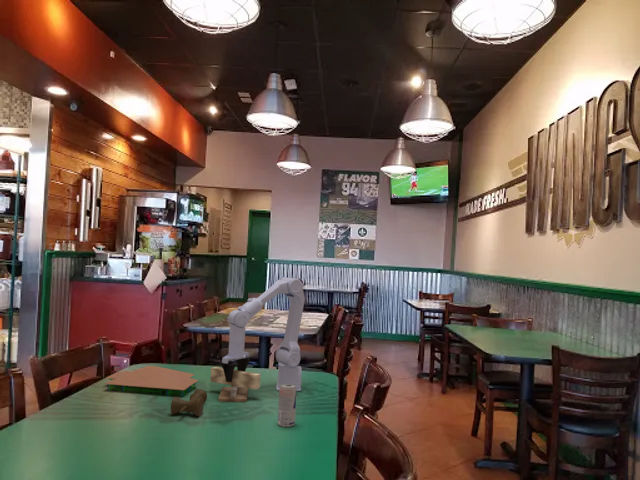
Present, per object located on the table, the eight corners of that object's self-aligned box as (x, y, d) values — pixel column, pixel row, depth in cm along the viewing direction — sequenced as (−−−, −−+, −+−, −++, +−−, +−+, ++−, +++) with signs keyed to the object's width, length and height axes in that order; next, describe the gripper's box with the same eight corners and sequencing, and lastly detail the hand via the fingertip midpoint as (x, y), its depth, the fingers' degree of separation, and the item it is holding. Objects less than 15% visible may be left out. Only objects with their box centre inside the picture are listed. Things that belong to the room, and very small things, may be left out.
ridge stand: (248, 389, 190) (248, 379, 190) (246, 402, 174) (247, 390, 174) (222, 389, 189) (222, 378, 189) (218, 401, 173) (218, 390, 173)
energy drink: (295, 422, 155) (297, 384, 156) (293, 428, 150) (295, 388, 150) (279, 420, 156) (281, 382, 156) (276, 426, 150) (278, 387, 151)
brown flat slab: (127, 377, 202) (129, 357, 202) (205, 383, 198) (206, 363, 199) (96, 392, 179) (98, 369, 179) (183, 399, 176) (184, 376, 176)
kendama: (213, 405, 171) (194, 422, 151) (186, 404, 171) (164, 420, 152) (214, 387, 171) (195, 402, 151) (187, 386, 172) (165, 401, 152)
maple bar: (210, 381, 184) (211, 368, 185) (215, 379, 187) (215, 366, 187) (255, 389, 176) (256, 375, 176) (259, 387, 179) (260, 374, 179)
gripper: (234, 346, 174) (232, 385, 173) (256, 341, 187) (254, 377, 187) (218, 344, 177) (216, 382, 176) (240, 339, 190) (238, 374, 190)
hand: (234, 379), depth 182 cm, fingers open, 7 cm apart
